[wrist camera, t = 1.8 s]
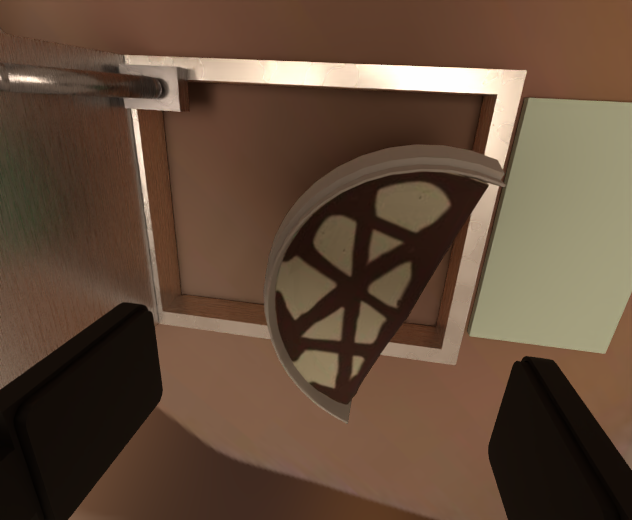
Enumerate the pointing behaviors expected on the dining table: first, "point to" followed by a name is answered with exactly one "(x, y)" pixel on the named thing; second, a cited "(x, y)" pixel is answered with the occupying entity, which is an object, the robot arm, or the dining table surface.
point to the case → (167, 190)
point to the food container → (364, 260)
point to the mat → (561, 229)
